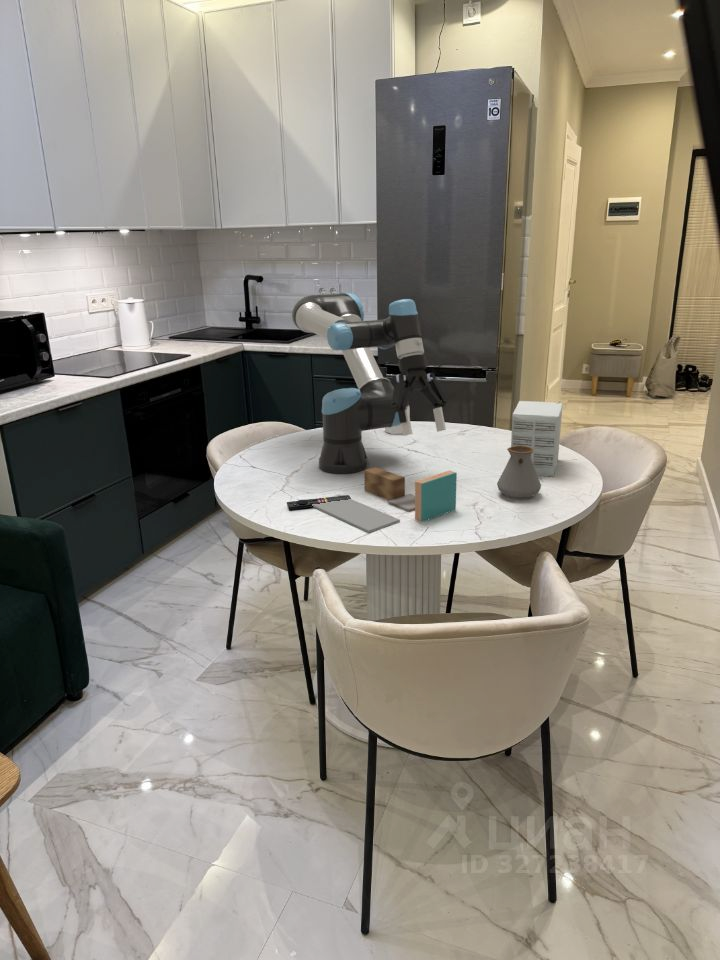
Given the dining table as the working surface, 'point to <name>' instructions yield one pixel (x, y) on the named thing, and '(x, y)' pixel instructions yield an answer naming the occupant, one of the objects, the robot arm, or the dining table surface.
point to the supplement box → (538, 433)
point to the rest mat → (357, 514)
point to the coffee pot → (519, 475)
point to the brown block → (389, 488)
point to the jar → (397, 428)
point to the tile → (435, 495)
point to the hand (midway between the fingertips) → (425, 432)
